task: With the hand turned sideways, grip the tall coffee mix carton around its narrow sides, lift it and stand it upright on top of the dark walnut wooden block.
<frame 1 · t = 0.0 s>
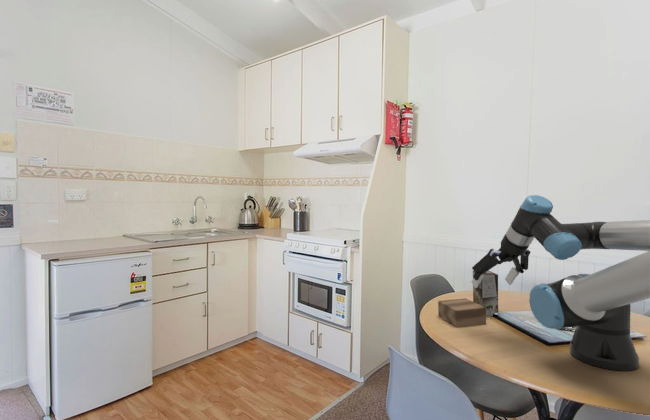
hand: (491, 283, 122), 15 cm above the table, tool tilted 35°, fingers open, 13 cm apart
salad plate: (570, 324, 123), on the table
coffee box: (485, 312, 137), on the table
walnut stand: (461, 319, 129), on the table
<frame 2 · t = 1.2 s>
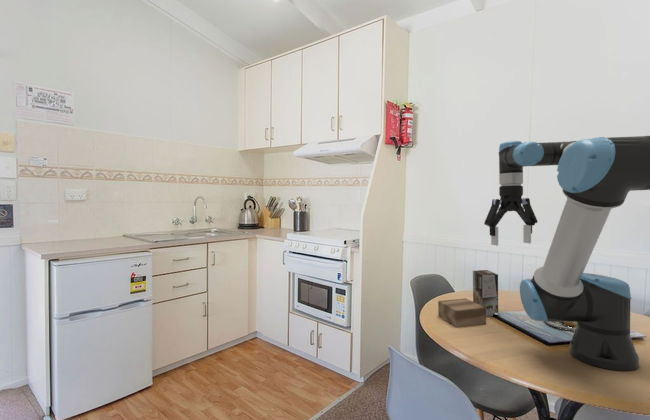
hand: (511, 244, 124), 29 cm above the table, tool pointing down, fingers open, 13 cm apart
nothing on the table moved.
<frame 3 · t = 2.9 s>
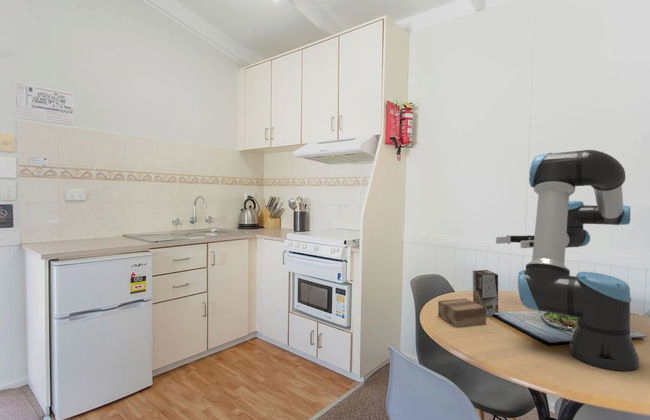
hand: (508, 242, 138), 27 cm above the table, tool horizontal, fingers open, 13 cm apart
nothing on the table moved.
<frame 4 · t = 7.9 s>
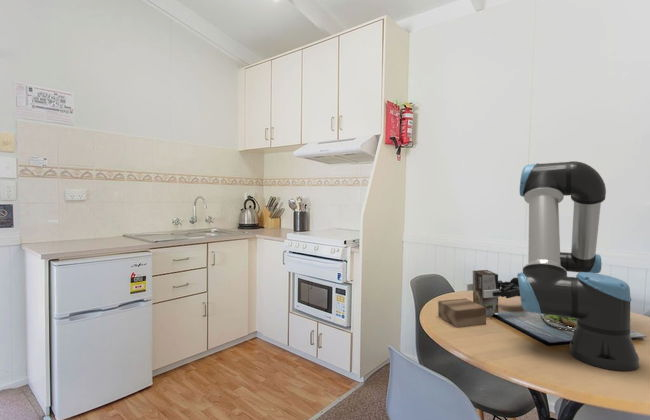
hand: (475, 290, 136), 9 cm above the table, tool horizontal, fingers closed on coffee box, 10 cm apart
coffee box: (485, 312, 137), on the table, touching gripper
everything else where it was.
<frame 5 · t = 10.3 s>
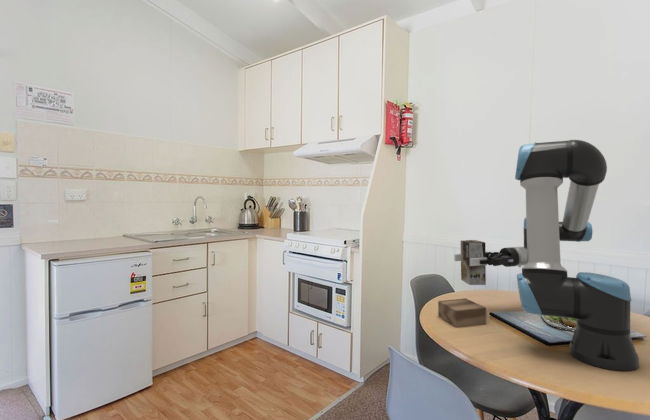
hand: (462, 259, 132), 22 cm above the table, tool horizontal, fingers closed on coffee box, 10 cm apart
coffee box: (473, 282, 134), point 13 cm above the table, touching gripper
everything else where it was.
when the fingers open (16 cm above the table, at t = 12.8 s): coffee box stays where it is, resting on walnut stand.
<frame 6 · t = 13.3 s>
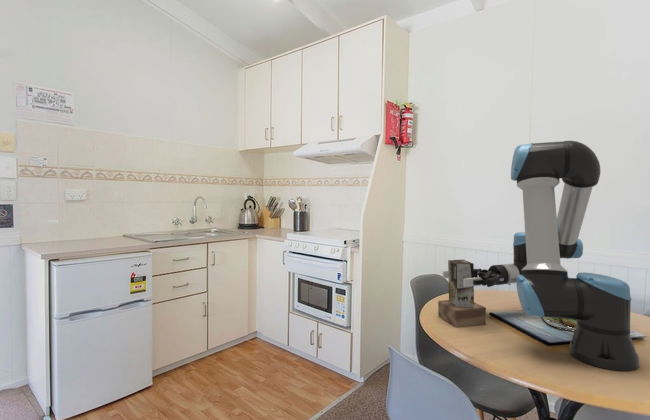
hand: (452, 278, 128), 16 cm above the table, tool horizontal, fingers open, 13 cm apart
coffee box: (461, 304, 129), point 6 cm above the table, touching walnut stand
everything else where it was.
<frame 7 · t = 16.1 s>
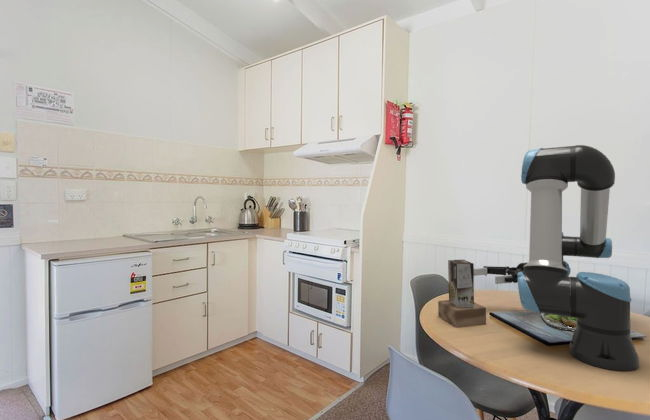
hand: (483, 275, 130), 16 cm above the table, tool horizontal, fingers open, 13 cm apart
nothing on the table moved.
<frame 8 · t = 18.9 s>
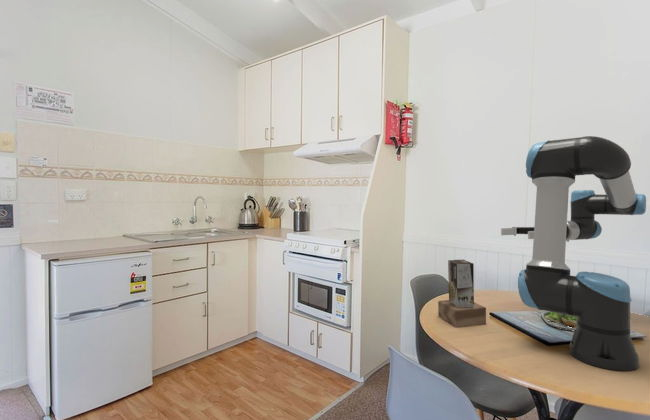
hand: (514, 233, 129), 32 cm above the table, tool horizontal, fingers open, 13 cm apart
nothing on the table moved.
at the end: coffee box inside the target area on the walnut stand (0.1 cm from its centre), point 5.8 cm above the walnut stand's base; coffee box tilted 0°; the gripper is holding nothing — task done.
